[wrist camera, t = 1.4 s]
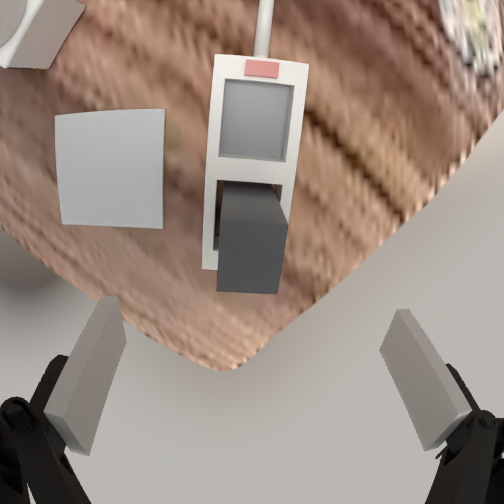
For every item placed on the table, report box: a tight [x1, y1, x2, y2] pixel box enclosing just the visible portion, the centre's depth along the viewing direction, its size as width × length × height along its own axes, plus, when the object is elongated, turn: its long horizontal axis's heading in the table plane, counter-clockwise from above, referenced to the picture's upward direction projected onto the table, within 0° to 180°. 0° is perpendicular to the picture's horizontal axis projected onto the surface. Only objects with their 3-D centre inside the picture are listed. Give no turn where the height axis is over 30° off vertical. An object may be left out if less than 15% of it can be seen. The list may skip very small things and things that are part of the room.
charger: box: [217, 180, 288, 294], centre depth 24 cm, size 5×4×10 cm
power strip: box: [202, 0, 309, 270], centre depth 23 cm, size 27×7×4 cm, turn 175°
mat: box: [55, 109, 166, 229], centre depth 26 cm, size 11×11×1 cm
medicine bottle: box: [0, 0, 85, 70], centre depth 13 cm, size 7×7×12 cm
